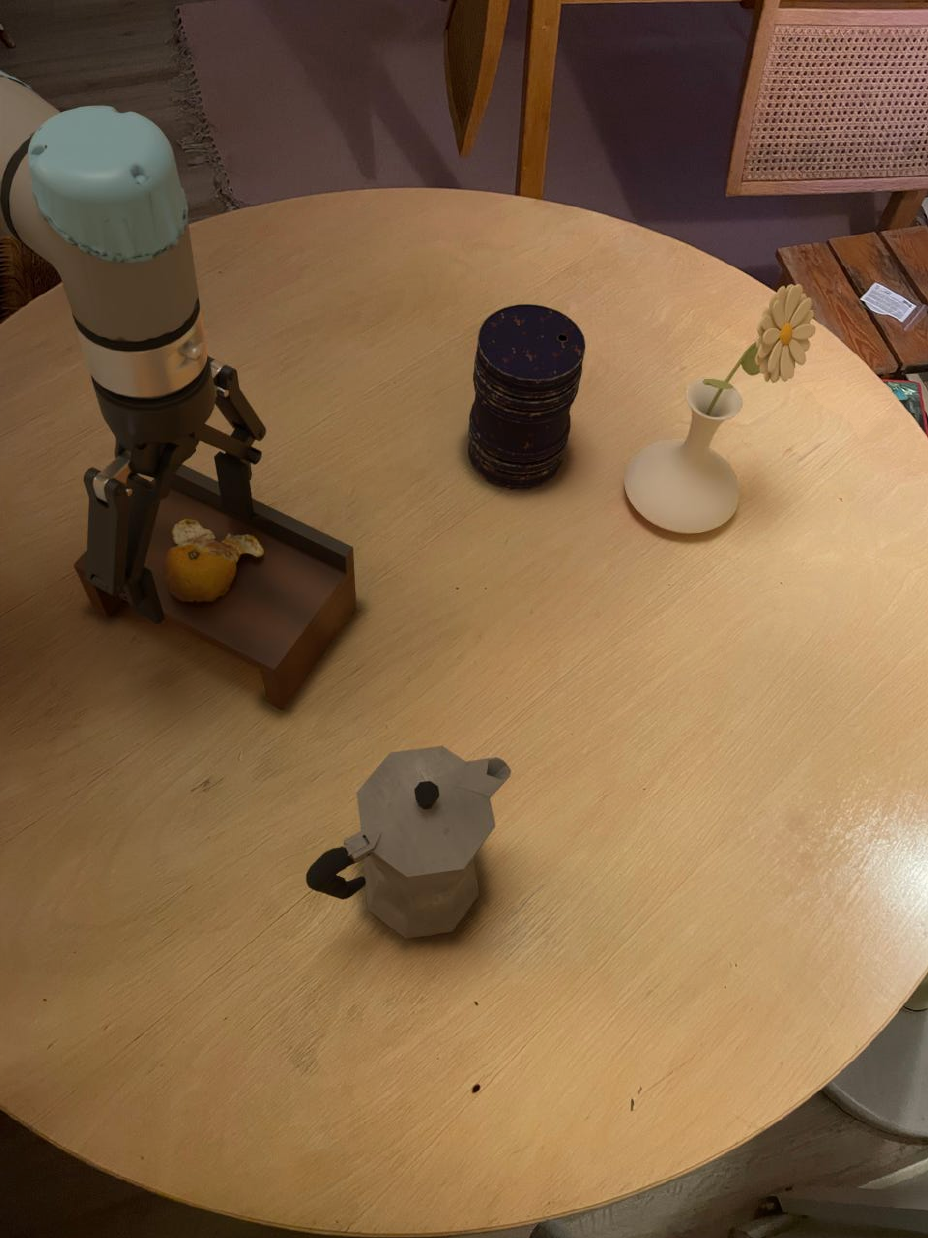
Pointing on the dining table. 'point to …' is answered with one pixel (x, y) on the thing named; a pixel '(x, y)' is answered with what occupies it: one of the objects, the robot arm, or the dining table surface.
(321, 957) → the dining table surface
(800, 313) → the flower in vase
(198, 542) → the fruit
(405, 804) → the coffeepot
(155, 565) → the shelf
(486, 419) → the dark blue barrel
